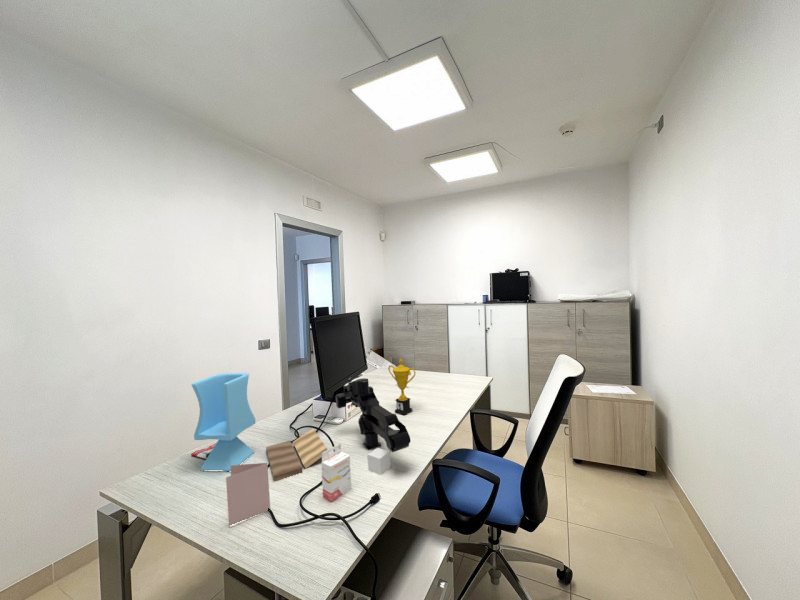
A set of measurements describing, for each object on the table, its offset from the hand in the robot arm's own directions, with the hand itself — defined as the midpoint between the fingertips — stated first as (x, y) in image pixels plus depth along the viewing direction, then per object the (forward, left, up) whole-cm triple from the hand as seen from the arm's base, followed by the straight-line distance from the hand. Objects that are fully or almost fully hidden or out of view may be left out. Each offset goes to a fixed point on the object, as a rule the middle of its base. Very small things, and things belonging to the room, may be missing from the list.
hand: (349, 393), depth 156 cm
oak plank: (-16, +24, -15) cm, 32 cm away
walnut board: (-16, +35, -17) cm, 42 cm away
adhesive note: (-43, +5, -17) cm, 47 cm away
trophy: (-1, -30, -17) cm, 35 cm away
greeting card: (-44, +50, -17) cm, 69 cm away
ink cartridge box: (-48, +23, -17) cm, 56 cm away
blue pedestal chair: (-3, +55, -17) cm, 57 cm away
